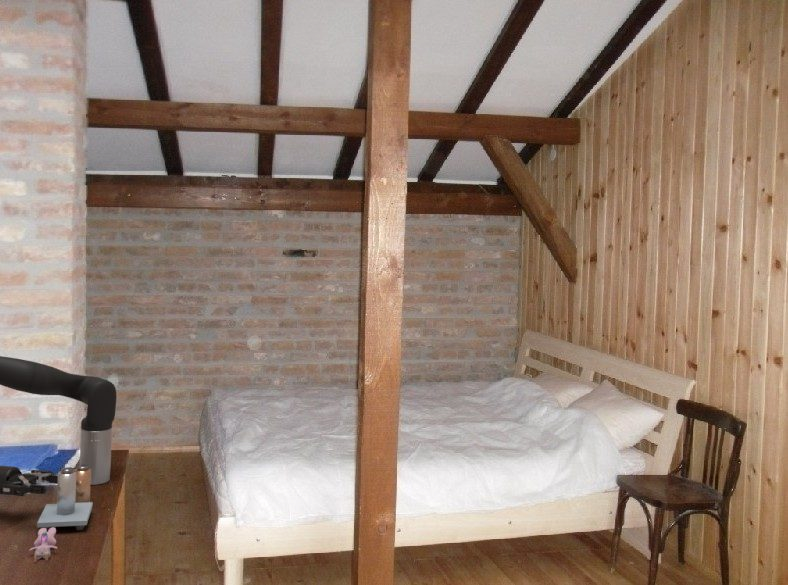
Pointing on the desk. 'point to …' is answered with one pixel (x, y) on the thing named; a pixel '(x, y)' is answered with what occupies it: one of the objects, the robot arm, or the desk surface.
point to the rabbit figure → (44, 543)
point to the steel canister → (66, 491)
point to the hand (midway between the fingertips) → (54, 484)
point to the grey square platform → (65, 516)
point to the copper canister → (83, 483)
